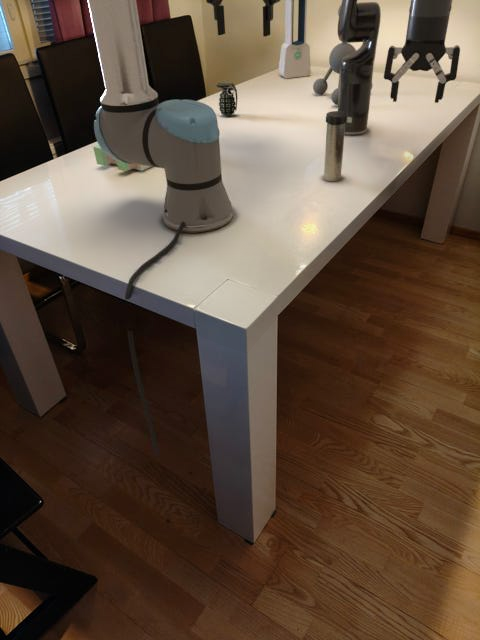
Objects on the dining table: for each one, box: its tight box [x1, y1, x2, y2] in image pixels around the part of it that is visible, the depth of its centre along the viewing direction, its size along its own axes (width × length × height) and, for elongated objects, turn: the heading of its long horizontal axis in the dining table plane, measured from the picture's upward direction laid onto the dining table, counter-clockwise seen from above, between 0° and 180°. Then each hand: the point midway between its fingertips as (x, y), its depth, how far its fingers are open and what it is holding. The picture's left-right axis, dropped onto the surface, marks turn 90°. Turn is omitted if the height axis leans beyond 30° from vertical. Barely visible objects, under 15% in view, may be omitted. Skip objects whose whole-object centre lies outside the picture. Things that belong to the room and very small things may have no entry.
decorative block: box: [92, 144, 152, 172], centre depth 138 cm, size 26×6×20 cm
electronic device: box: [278, 0, 312, 79], centre depth 204 cm, size 12×8×30 cm, turn 105°
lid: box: [325, 110, 347, 125], centre depth 112 cm, size 5×5×2 cm
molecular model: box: [312, 5, 373, 106], centre depth 171 cm, size 24×22×30 cm
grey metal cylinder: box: [323, 122, 345, 182], centre depth 117 cm, size 4×4×15 cm
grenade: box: [215, 82, 238, 117], centre depth 166 cm, size 7×6×10 cm
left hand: (243, 35), depth 129 cm, fingers open, 13 cm apart
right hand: (415, 101), depth 104 cm, fingers open, 8 cm apart
